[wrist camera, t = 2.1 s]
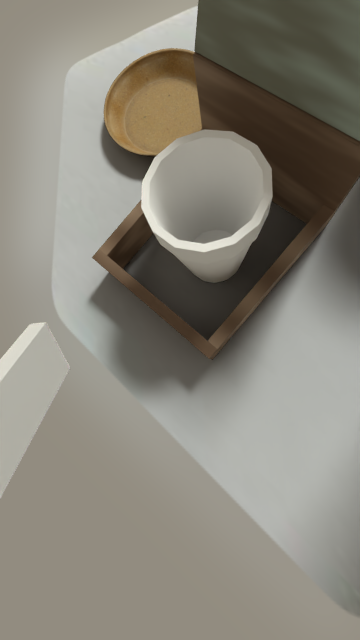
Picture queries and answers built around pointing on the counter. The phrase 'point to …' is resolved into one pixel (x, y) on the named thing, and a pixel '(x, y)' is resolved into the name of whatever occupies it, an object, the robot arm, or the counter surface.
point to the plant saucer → (153, 102)
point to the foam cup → (208, 200)
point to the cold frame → (270, 124)
